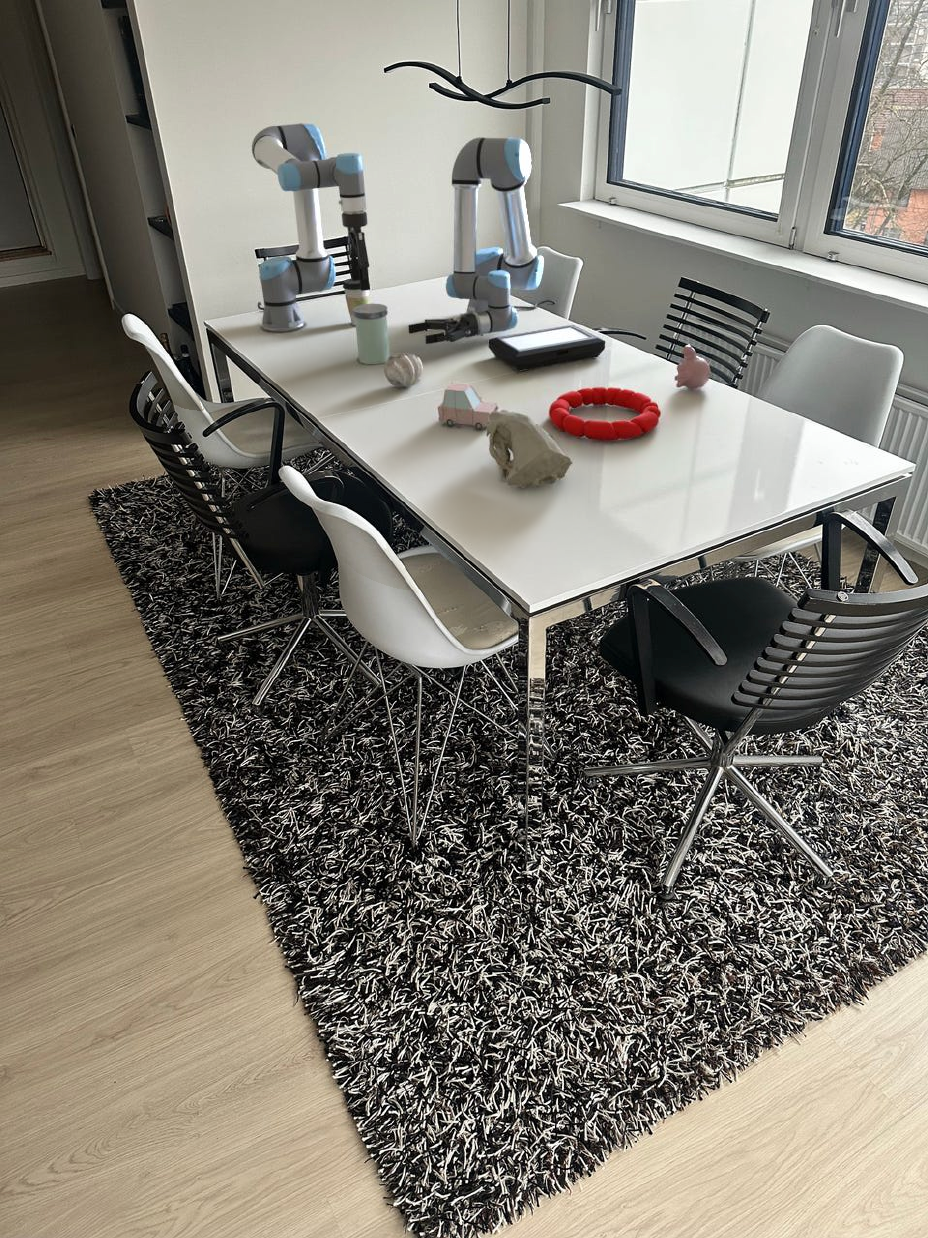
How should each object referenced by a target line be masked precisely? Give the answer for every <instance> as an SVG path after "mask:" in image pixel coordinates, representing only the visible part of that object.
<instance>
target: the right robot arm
mask: <svg viewBox="0 0 928 1238" xmlns="http://www.w3.org/2000/svg"><path fill="white" fill-rule="evenodd" d="M531 162H532V155H531V151H530V148H529V145H528V143H527V141H525V140H524V139H522V138H516V137H475V138H472V139H471V140H469V141H468V142H466V144H464V145H463V147H462V148H461V149H460V150H459V153H458V154H457V156H456V158H455V161H454V164H453V168H452V171H451V172H452V174H451V186H452V188H453V190H454V203H453V204H454V213H453V273H452V274H449V275H448V276H447V278H446V283H445V292H446V294H447V296H448V297H449V298H453V299H459V300H468V304H467V308H466V310H465V311H466V313H463V314H461V316H460V318H459V320H457V319H454V317H449V318H431V319H427V318H425V319H424V321H423V322H418V323H412V324H408V326H407V327H408V334H409V335H410V334H416V333H423V332H428V331H429V330H433V331H442V332H438V333H432V334H428V335H427V334H426V335H425V337H424V338H425V344H426V345H431V344H436V343H442V342H449V343H452V344H453V343H456V342H457V341H459V340H461V339H463V338H472V337H476V336H481V337H483V336H484V335H487V334H491V333H498V332H506V331H509V330H512V329H515V328H516V326H518V325H517V324H518V322H519V321H518V320H519V316H518V312H517V309H522V310H534V309H536V308H537V306H539V305H542V304H545V303H551V304H553V305H556V304H557V302H556V301H554V300H553V299H543V300H541V301H538V302H536V303H534V304H533V306H526V305H511V290H523V291H524V290H525V291H530V290H531V291H534V290H537V288H538V287H539V285H540V284H541V281H542V278H543V274H544V265H545V260H544V256H543V255H541V254H538V253H537V252H538V251H537V248H536V246H534V245H533V244H532V240H531V234H530V226H529V219H528V213H527V206H526V197H525V190H524V185H525V184H526V183H527V180H528V179H529V177H530V175H531V171H532V164H531ZM482 179H485V180H489V181H490V185H491V188H492V189H493V190H494V191H496V192H497V198H498V206H499V211H500V216H501V217H500V218H501V224H502V230H503V236H504V241H505V247H506V249H505V251H504V250H503V248H501V247H498V246H497V247H494V246H493V247H487V248H482V249H478V250H477V234H478V233H477V228H478V200H479V199H478V195H479V189H480V188H481V187H482Z"/></svg>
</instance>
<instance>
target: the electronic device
mask: <svg viewBox="0 0 928 1238" xmlns="http://www.w3.org/2000/svg"><path fill="white" fill-rule="evenodd" d="M488 349H489V350H490V351H491V353H492V354H493V355H494V357H495V358H497V359H498V360H500V361H502V362H503V363H505V364H506V365H507V366H509V367H512V368H513V369H514V370H515V371H517V372H521V371H528V370H533V369H539V368H544V367H551V366H555V365H561V364H567V363H573V362H578V361H583V360H588V359H589V360H590V359H594V358H598V357H600V355H601V354H602V353H603V352H604V351H605V350H606V340H604V339H603V338H600V337H598V336H596V335H594V334H592V333H590V332H588V331H586V330H585V329H582V328H581V327H579V326H577V325H575V324H568V325H563V326H562V325H561V326H555V327H550V328H545V329H538V330H533V331H525V332H520V333H515V334H514V333H513V334H508V335H503V336H497V337H492V338H489V339H488Z"/></svg>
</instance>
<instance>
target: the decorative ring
mask: <svg viewBox="0 0 928 1238" xmlns="http://www.w3.org/2000/svg"><path fill="white" fill-rule="evenodd" d="M583 405H584V406H586V407H587V406H591V405H593V406H604V405H608V406H614V407H619V408H624V409H628V410H632V411H635V412H636V413H638V414H639V415H637V416H635V417H632V418H631V419H630V420H625V419H624V420H623V419H622V420H614V421H611V422H609V421H607V420H606V421H605V420H593V419H587V420H586V421H585V419H584V418H582V417H579V416H577V415H573V414H571V413H570V410H571V409H579V408H581V407H582V406H583ZM548 416H549V419H550V422H551V423H552V425H553V426H554V427H555V428H556V429H558V430H559V431H561V432H563V433H567V434H568V435H569V436H573V437H576V438H580V439H582V438H583V437H585V438H586V439H587V440H591V441H601V442H602V441H603V442H608V441H609V442H610V441H611V442H612V441H615V442H616V441H618V440H630V439H634V438H638V437H641V436H642V434H647V433H650V432H651V431H653V430H654V429H655V428H656V427H657V426H658V424H659V422H660V421H659V420H660V417H661V410H660V408H659V405H658V403H657V402H656V401H652V399H651V397H649V396H648V395H646V394H644V393H642V392H635V391H634V390H632V389H628V388H624V389H622V388H620V387H613V386H612V387H611V386H610V387H608V388H606V387H604V386H594V387H585V388H584V387H583V388H580V389H578V390H571V391H568V392H565V393H563V394H561V395H560V396H558V397H557V398H556V400H554V401H552V403H551V404H550V407H549V409H548Z"/></svg>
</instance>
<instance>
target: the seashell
mask: <svg viewBox="0 0 928 1238" xmlns="http://www.w3.org/2000/svg"><path fill="white" fill-rule="evenodd" d="M383 368H384V369H383V374H384V376H385V378H386V380H387V381H388V383H389V384H391V385H392V386H394V387H397V388H399V387H402V386H403V387H411V386H414V385H415V384H417V382H418V381H419V380H420V378H421V377H422V375H423V372H424V371H423V370H424V369H423V363H422V361H421V358H420V357H419V356H415V354H414V353H412V354H411V353H404V352H401V353H400V352H398V353H396V355H389V358H388V359H387V361H386V362H384V367H383Z"/></svg>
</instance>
